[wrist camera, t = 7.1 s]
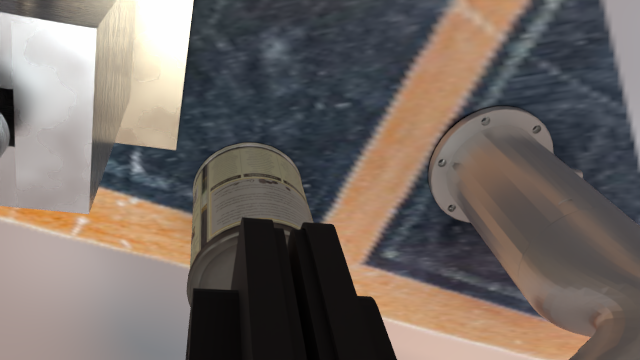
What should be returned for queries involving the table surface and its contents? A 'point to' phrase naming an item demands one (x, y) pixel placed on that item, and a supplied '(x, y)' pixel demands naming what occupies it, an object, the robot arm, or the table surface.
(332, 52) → the table surface
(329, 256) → the robot arm
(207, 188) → the coffee can
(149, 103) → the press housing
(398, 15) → the table surface
